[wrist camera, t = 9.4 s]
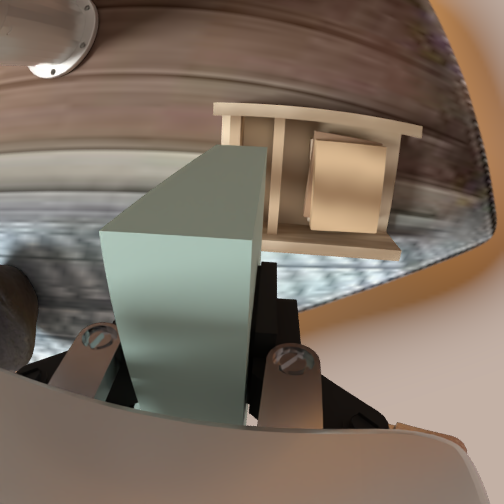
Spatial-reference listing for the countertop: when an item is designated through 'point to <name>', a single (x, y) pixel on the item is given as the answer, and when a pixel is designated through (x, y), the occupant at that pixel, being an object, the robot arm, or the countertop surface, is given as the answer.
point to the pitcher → (16, 318)
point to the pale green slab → (190, 284)
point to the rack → (296, 173)
